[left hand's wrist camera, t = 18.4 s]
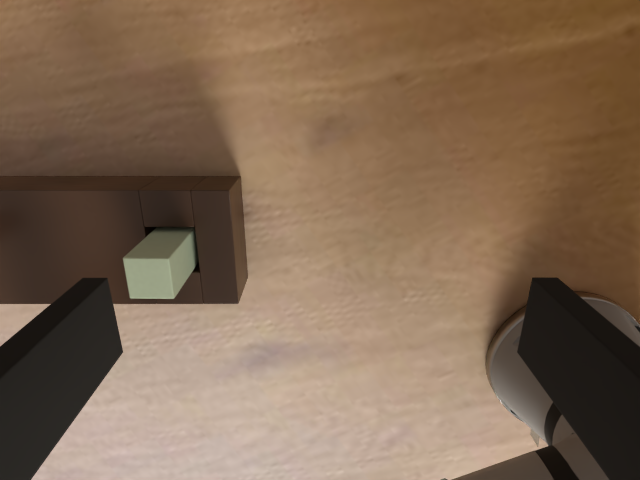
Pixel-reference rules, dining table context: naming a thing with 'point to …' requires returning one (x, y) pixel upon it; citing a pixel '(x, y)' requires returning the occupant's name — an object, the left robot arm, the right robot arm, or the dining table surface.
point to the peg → (161, 263)
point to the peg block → (116, 234)
